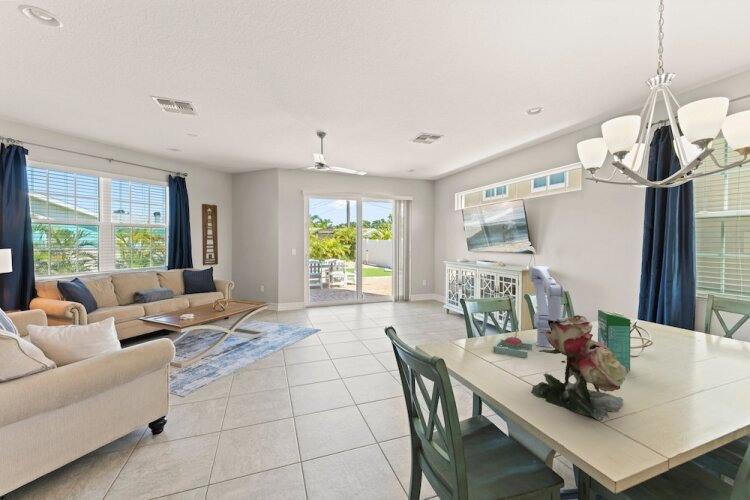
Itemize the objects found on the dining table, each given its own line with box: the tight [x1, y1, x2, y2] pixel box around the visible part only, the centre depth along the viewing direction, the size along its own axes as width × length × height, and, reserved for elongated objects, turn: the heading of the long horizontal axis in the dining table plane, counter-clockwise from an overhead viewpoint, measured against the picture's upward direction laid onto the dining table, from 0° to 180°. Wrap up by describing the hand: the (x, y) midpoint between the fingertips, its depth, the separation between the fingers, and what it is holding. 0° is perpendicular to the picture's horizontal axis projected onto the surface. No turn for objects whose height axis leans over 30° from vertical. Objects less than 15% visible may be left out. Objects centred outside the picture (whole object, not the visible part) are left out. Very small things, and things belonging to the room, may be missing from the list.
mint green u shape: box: [493, 338, 533, 359], centre depth 172 cm, size 15×16×3 cm
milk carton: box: [597, 309, 631, 372], centre depth 149 cm, size 9×9×25 cm
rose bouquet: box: [530, 314, 628, 421], centre depth 120 cm, size 26×29×30 cm
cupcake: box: [504, 327, 523, 350], centre depth 172 cm, size 9×8×12 cm
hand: (554, 335), depth 165 cm, fingers closed
